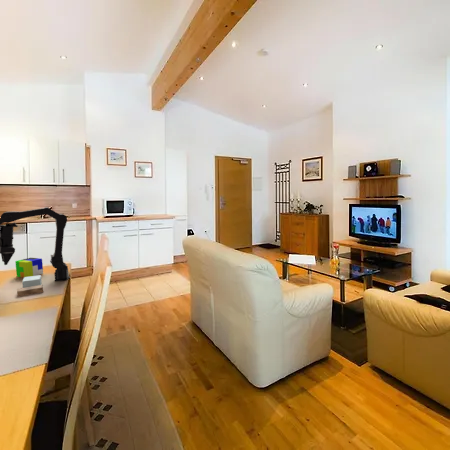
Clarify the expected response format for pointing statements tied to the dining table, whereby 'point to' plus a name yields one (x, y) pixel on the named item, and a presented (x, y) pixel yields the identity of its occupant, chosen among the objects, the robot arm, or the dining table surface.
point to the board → (29, 290)
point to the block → (31, 281)
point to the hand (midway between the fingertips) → (4, 263)
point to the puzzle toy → (29, 267)
